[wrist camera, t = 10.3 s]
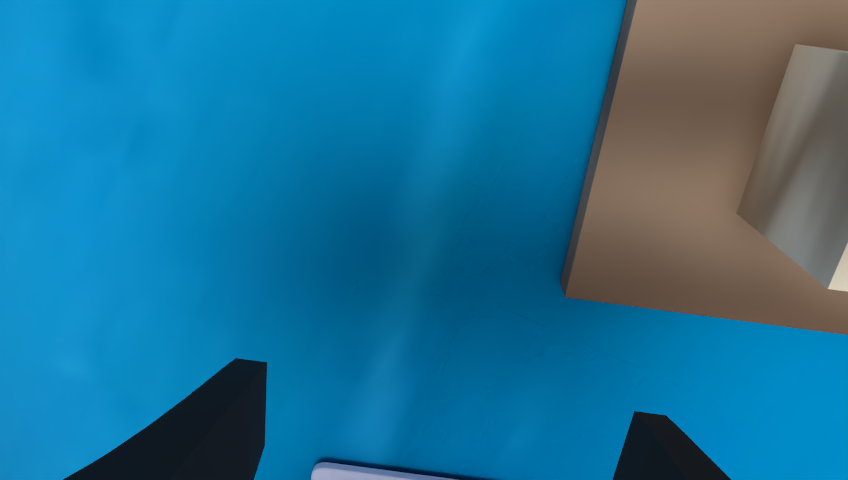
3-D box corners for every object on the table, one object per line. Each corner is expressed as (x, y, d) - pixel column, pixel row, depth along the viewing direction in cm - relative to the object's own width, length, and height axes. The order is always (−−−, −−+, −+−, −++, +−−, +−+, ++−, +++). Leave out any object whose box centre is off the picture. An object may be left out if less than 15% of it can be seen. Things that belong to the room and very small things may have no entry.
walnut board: (963, 337, 21) (986, 353, 20) (560, 283, 21) (565, 297, 20) (1171, -45, 16) (1214, -47, 15) (654, -115, 16) (666, -121, 15)
